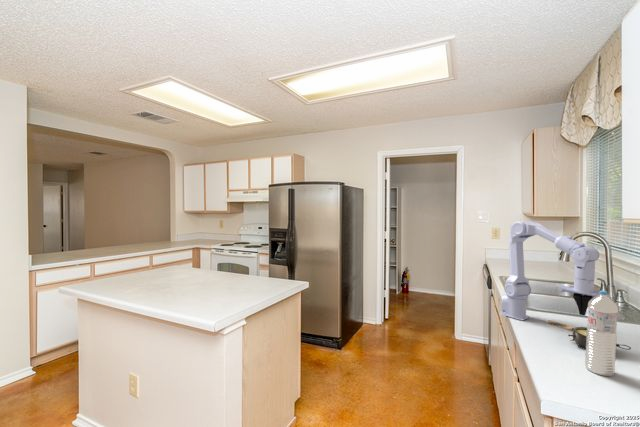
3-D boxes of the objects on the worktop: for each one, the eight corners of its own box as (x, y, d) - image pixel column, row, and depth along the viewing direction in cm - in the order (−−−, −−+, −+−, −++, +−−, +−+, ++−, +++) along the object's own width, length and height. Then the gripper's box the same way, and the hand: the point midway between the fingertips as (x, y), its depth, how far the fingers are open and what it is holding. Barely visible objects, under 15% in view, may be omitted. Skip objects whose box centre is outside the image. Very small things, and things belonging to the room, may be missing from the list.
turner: (547, 324, 133) (547, 321, 133) (550, 321, 135) (550, 319, 135) (589, 335, 122) (589, 333, 122) (592, 332, 124) (592, 330, 124)
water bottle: (584, 362, 100) (588, 287, 99) (613, 370, 96) (617, 291, 95) (585, 371, 95) (589, 291, 94) (615, 380, 91) (620, 296, 90)
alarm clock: (572, 323, 119) (631, 336, 108) (572, 337, 120) (631, 351, 108) (567, 331, 112) (630, 345, 100) (567, 346, 112) (630, 362, 100)
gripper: (612, 281, 112) (610, 318, 112) (563, 273, 123) (561, 307, 124) (608, 284, 108) (606, 322, 108) (557, 275, 119) (556, 310, 120)
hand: (582, 314), depth 116 cm, fingers closed
